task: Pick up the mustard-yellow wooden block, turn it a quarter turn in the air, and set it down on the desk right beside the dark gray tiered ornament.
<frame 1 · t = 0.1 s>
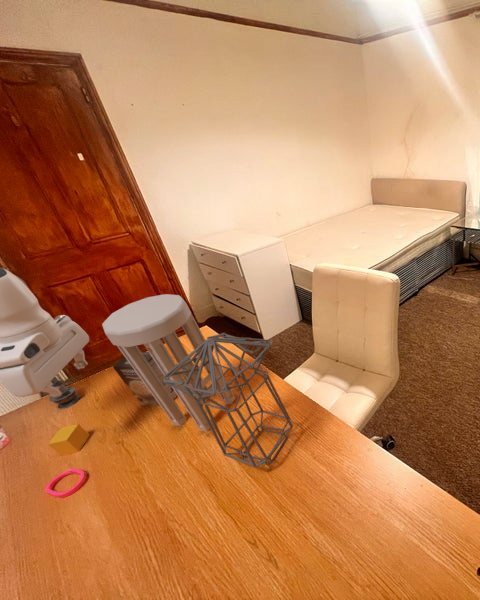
hand: (71, 379, 76), 19 cm above the table, tool pointing down, fingers open, 8 cm apart
stool: (206, 411, 89), on the table
yellow block: (75, 445, 82), on the table
coffee box: (162, 398, 94), on the table
fitness band: (69, 484, 73), on the table
dark gray tiered ornament: (70, 402, 96), on the table
geometric lantern: (265, 446, 78), on the table
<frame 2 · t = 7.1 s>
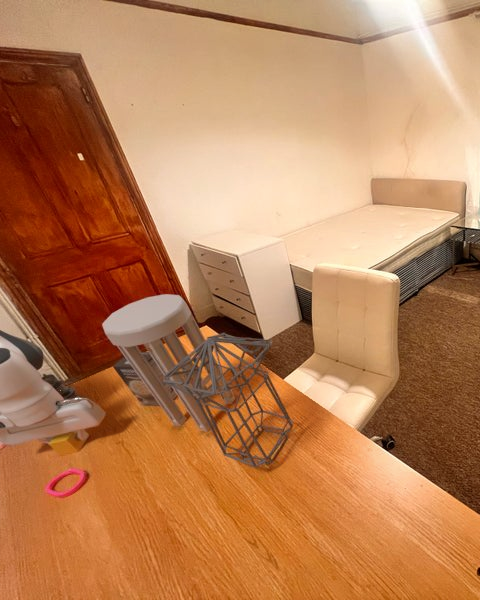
hand: (71, 441, 81), 2 cm above the table, tool pointing down, fingers closed on yellow block, 4 cm apart
yellow block: (75, 445, 82), on the table, touching gripper
everything else where it was.
when the fingers open (2 cm above the table, at t = 15.0 s): yellow block stays where it is, on the table.
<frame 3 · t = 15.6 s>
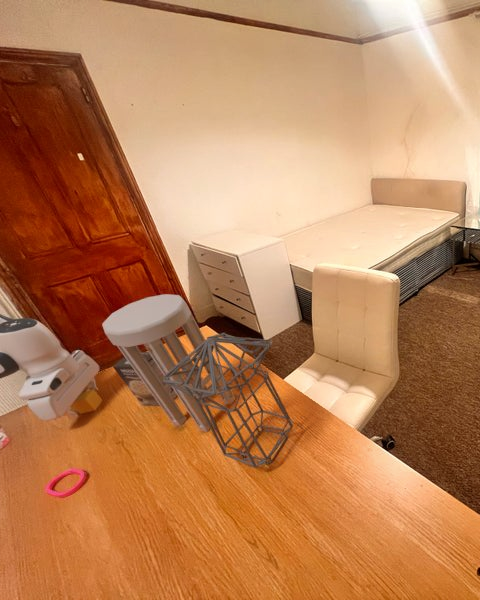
hand: (85, 403, 92), 2 cm above the table, tool pointing down, fingers open, 8 cm apart
yellow block: (89, 407, 93), on the table
everything else where it was.
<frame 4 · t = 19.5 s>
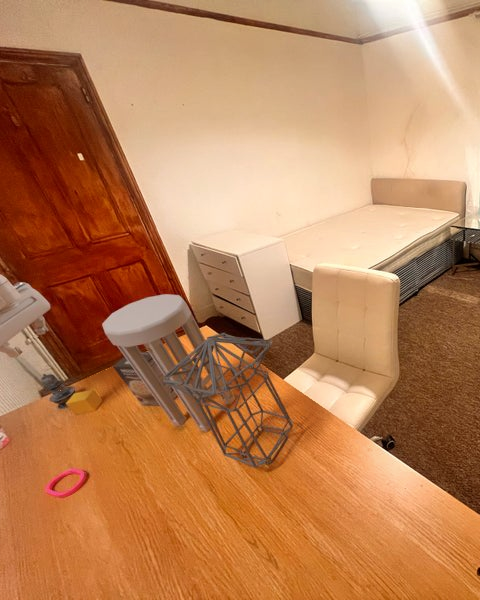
hand: (31, 343, 80), 25 cm above the table, tool pointing down, fingers open, 8 cm apart
nothing on the table moved.
at the end: yellow block 9.4 cm from the dark gray tiered ornament (horizontally); yellow block tilted 0°; the gripper is holding nothing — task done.
